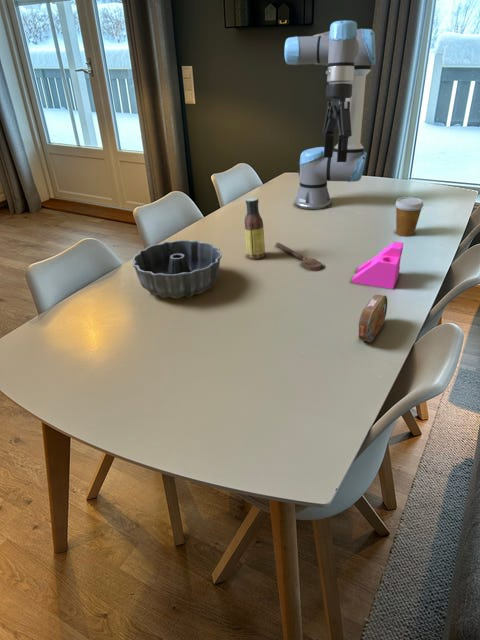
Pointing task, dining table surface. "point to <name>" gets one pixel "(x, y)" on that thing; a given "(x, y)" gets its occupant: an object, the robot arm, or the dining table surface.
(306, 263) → the wooden spoon
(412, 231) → the disposable coffee cup
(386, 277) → the bracket
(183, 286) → the bundt pan
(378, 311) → the tin
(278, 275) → the dining table surface
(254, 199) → the sauce bottle
